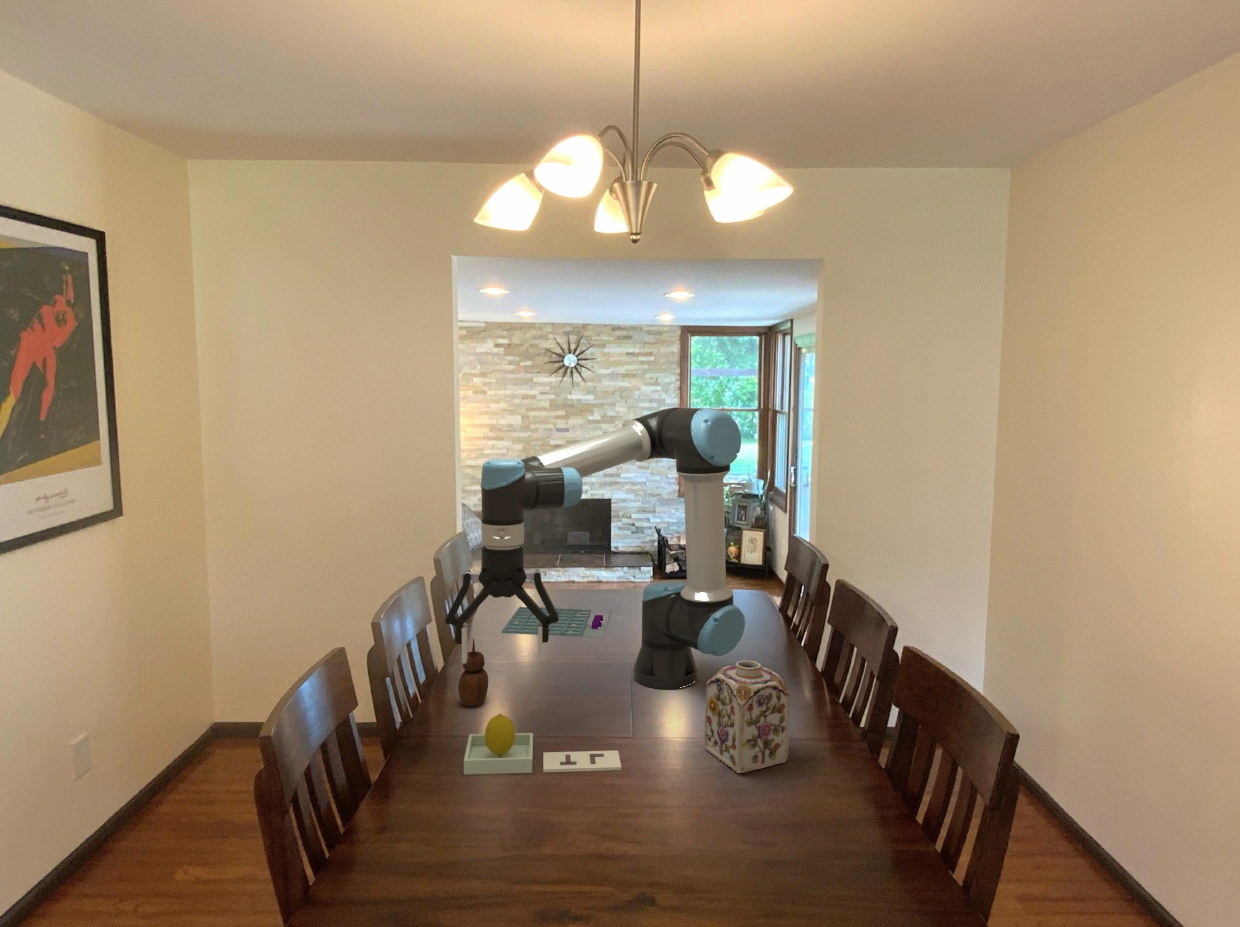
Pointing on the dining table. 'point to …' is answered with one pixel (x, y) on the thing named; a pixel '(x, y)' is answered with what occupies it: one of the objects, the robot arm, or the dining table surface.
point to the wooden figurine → (473, 680)
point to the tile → (581, 761)
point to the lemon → (499, 734)
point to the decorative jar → (747, 716)
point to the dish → (490, 763)
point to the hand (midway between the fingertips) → (502, 660)
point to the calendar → (565, 626)
